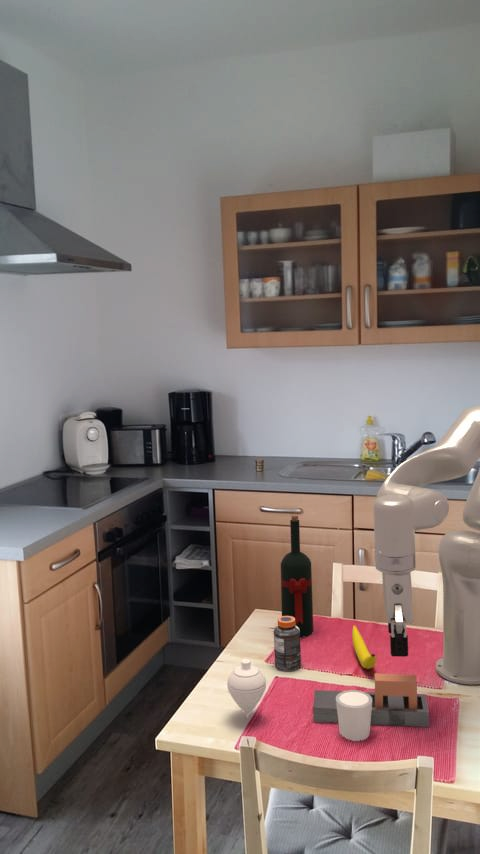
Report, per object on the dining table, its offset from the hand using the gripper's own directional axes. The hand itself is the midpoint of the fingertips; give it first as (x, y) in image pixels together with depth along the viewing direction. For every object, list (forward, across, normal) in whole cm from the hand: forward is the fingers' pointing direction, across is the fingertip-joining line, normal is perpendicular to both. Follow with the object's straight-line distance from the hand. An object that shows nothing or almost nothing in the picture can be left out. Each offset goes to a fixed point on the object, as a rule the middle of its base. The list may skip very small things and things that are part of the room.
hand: (398, 643), depth 147 cm
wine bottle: (+16, +37, +23) cm, 46 cm away
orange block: (+15, -1, +1) cm, 15 cm away
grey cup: (+14, -8, +9) cm, 19 cm away
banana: (+16, +22, +7) cm, 28 cm away
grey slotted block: (+14, -1, +6) cm, 16 cm away
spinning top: (+14, -4, +30) cm, 33 cm away
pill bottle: (+15, +19, +24) cm, 34 cm away
